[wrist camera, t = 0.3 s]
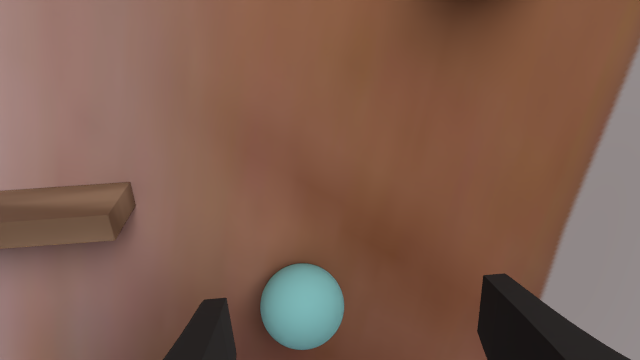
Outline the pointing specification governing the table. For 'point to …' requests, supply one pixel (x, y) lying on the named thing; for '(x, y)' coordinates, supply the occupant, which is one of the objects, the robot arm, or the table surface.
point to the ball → (302, 306)
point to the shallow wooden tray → (64, 214)
